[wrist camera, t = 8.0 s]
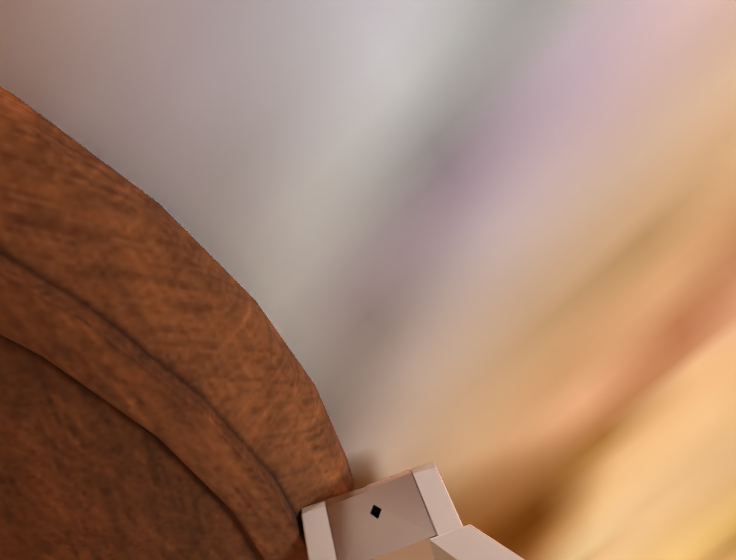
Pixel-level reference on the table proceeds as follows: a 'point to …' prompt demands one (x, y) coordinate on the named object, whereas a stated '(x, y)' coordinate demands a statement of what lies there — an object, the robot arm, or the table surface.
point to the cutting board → (139, 378)
